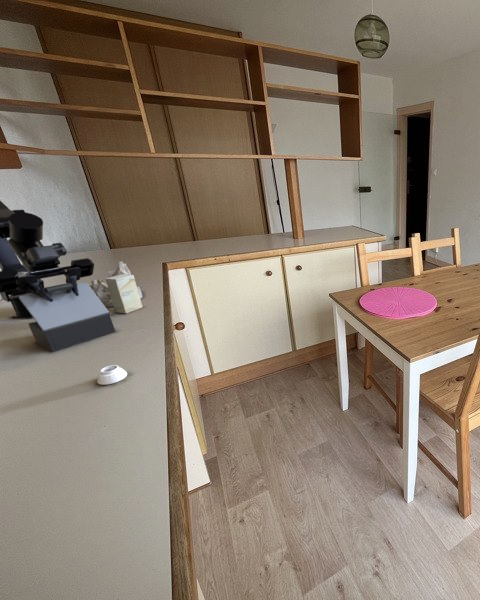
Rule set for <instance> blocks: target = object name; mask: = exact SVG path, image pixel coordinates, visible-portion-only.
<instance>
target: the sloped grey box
mask: <svg viewBox="0 0 480 600" xmlns="http://www.w3.org/2000/svg"><path fill="white" fill-rule="evenodd" d="M28 328H29V329H30V331H31V333H32V336H33V338H34V340H35V342H36V343H37V344H38V345H40V346H42V347H43V348H45V349H46V350H48V351H50V352H52V353H54V352H57V351H61V350H63V349H66V348H70V347H74V346H75V345H76V346H77V345H79V344H82V343H86V342H88V341H92V340H94V339H98V338H101V337H103V336H108V335H110V334H112V333H116V328H115V326H114V324H113V319H112V317H111V314H110V313H108V314H105V315H101V316H98V317H94V318H90V319H87V320H83V321H80V322H76V323H73V324H69V325H65V326H62V327H58V328H55V329H51V330H48V331H44V332H43V330H42V329H41V328H40V326H39V325H38V323H37V322H36V321H33V322H29V323H28Z"/></svg>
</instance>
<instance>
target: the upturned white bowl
mask: <svg viewBox="0 0 480 600" xmlns="http://www.w3.org/2000/svg"><path fill="white" fill-rule="evenodd" d="M127 375H128V372H127V371H126V370H125V369H123V368H122V367H120V366H119V365H116V364H110V365H106V366H105V367H103V368H101V369H100V372H99V374H98V377H97V380H96V381H97V384H98V385H104V386H105V385H112V384H116V383H118V382H120V381H122V380H124V379H125V378H126V377H127Z"/></svg>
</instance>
